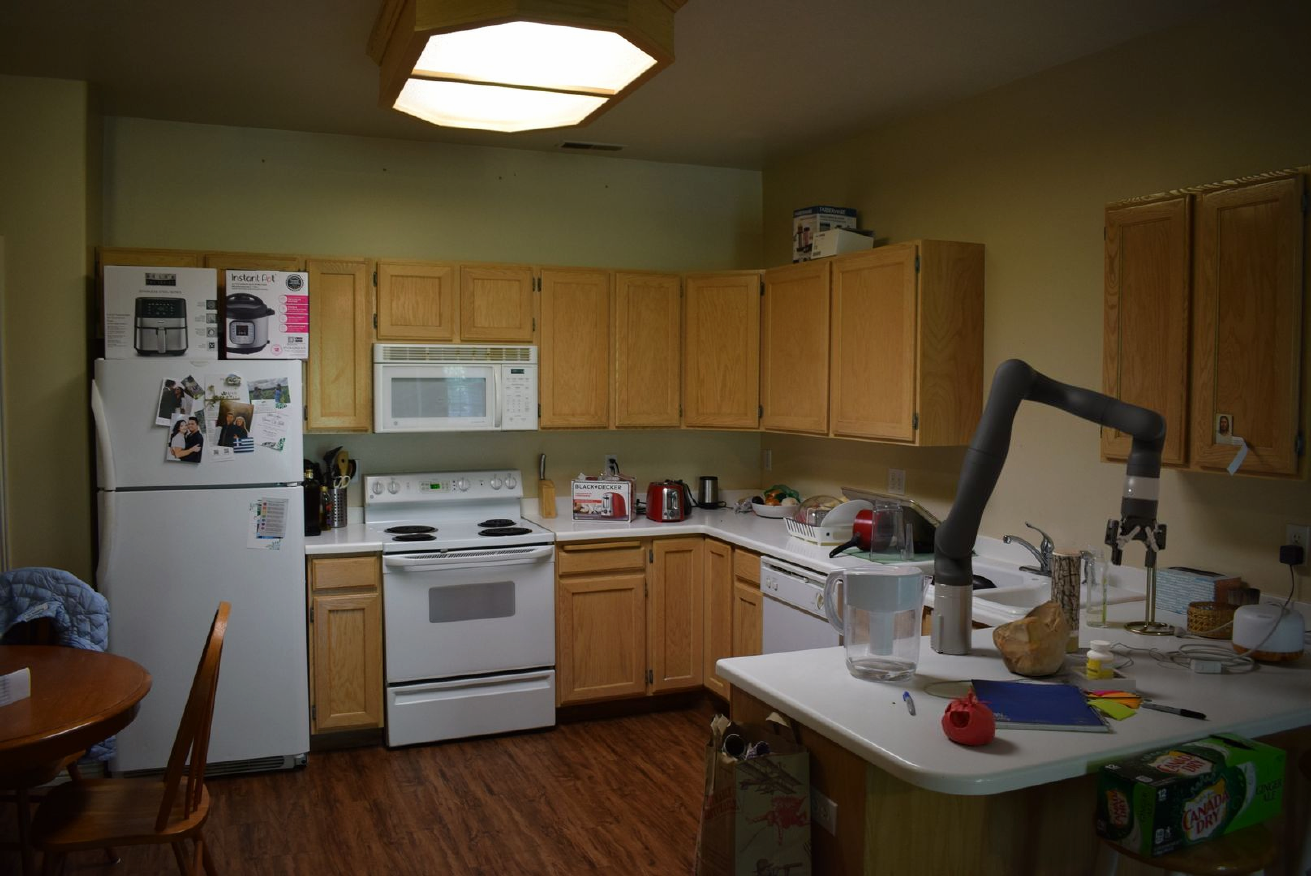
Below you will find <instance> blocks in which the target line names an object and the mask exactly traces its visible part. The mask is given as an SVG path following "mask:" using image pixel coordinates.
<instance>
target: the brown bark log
mask: <svg viewBox="0 0 1311 876" xmlns="http://www.w3.org/2000/svg"><path fill="white" fill-rule="evenodd" d="M1081 576H1082V553H1081V551H1076V550H1067V549H1066V550H1065V549H1055V550H1052V553H1051V581H1050V582H1051V585H1050V586H1051V588H1050V591H1051V592H1050V600H1052V601H1053V602H1055V603H1059V604H1060V605H1061V606H1062V609H1063V612H1064V615H1065V618H1066V621H1067V623H1068V626H1069V629H1070V641H1069V643H1068V644H1067V645H1066V654H1067V653H1068V654H1069V653H1076V652H1078V650H1079V644H1080V642H1079V641H1080V620H1081V617H1080V614H1081V613H1080V611H1081V580H1082V579H1081V578H1082V577H1081Z"/></svg>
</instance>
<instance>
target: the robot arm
mask: <svg viewBox="0 0 1311 876" xmlns="http://www.w3.org/2000/svg"><path fill="white" fill-rule="evenodd" d="M1022 400H1024V401H1029V402H1033V403H1038V404H1039V403H1040V404H1044V405H1047V406H1050V407H1054V408H1056V409H1059V410H1062V411H1064V412H1067V413H1068V414H1071V415H1074V416H1075V417H1078V418H1081V419H1083V420H1086V421H1089V422H1091V423H1094V424H1096V425H1100V426H1103V427H1105V428H1111V429H1114V430H1117V431H1119V432H1121V433H1124V434H1126V435H1128V436H1131V437H1132V440H1131V441H1132V442H1131V450H1130V452H1129V454H1128V457H1127V460H1126V461H1127V462H1126V472H1125V478H1124V482H1123V486H1122V494H1121V495H1122V496H1121V504H1120V515H1121V518H1120V520H1118V519H1113V518H1109V519H1108V520H1107V525H1106V530H1105V536H1104V542H1103V543H1104V544H1105V545H1107V546H1109V547H1111V557H1110V561H1111V564H1112V565H1113V566H1117V567H1121V565H1122V559H1123V551H1124V550H1123V547H1125V546H1126V544H1128V543H1130V541H1141V543H1142V544H1144V546H1145V548H1146V550H1145V558H1144V567H1146V568H1148V569H1153V568H1154V567H1155V565H1156V559H1157V553H1158V552H1159V551H1161V550H1162V551H1165V550H1166V547H1167V546H1166V545H1167V527H1168V525H1167V524H1166V523H1165V524H1164V523H1159V522H1156V523H1155V520H1156V519H1157V516H1158V509H1159V508H1158V507H1159V498H1160V489H1161V488H1160V486H1161V485H1160V481H1161V480H1160V476H1161V470H1162V469H1161V468H1162V456H1163V455H1162V454H1163V451H1164V446H1165V441H1166V436H1167V420H1166V419H1165V417H1164V416H1163V415H1162V414H1161V413H1159V412H1157V411H1155V410H1152V409H1149V408H1145V407H1142V406H1139V405H1135V404H1131V403H1128V402H1124V401H1123V400H1121V399H1119V398H1116V397H1113V396H1110V395H1108V394H1104V393H1102V392H1099V391H1095V390H1092V389H1088V388H1085V387H1082V386H1077V385H1072V384H1067V383H1065V382H1062V381H1059V380H1056V379H1054V378H1051V377H1049V376H1048V375H1045V374H1043V373H1041V372H1040V371H1038V370H1036V369H1035V368H1033V367H1032V366H1031V365H1030V364H1028V362H1025V361H1024V360H1022V359H1019V358H1009V359H1007V360H1004V361H1003V362H1002V363H1001V364H1000V365H998V367H997V368H996V370H995V372H994V375H993V378H992V382H991V386H990V390H989V393H988V398H987V403H986V405H985V408H984V411H983V413H982V415H981V418H980V420H979V422H978V425H977V427H976V429H975V431H974V434H973V437H972V440H971V441H970V444H969V447H968V449H967V452H966V455H965V457H964V459H963V462H962V467H961V470H960V473H959V474H960V475H959V479H958V485H957V491H956V495H955V498H954V501H953V504H952V507H951V508H950V511H949V514H948V516H947V517H946V519H944V520H942V521H941V522H940V523H939V524H938V525H937V526H936V529H935V530H934V531H935V533H934V542H933V543H934V546H933V547H934V550H933V551H934V552H933V554H934V555H933V561H934V562H933V564H934V565H933V567H934V570H933V571H934V594H933V595H934V596H933V597H934V598H933V599H934V600H933V601H934V602H933V609H932V610H931V611H930V612H931V613H930V645H931V646H932V647H933V648H932V649H933V650H934V651H935V650H937V651H938V652H943V653H942V654H946V655H947V654H948V655H967V654H970V653H972V646H973V644H972V642H973V641H972V638H973V637H972V635H973V633H972V632H973V630H972V629H973V596H974V595H973V594H974V590H973V589H974V588H973V587H974V571H973V549H974V547H975V545H976V541H977V537H978V533H979V529H980V525H981V521H982V517H983V515H984V512H985V509H986V507H987V504H988V502H989V500H990V498H991V496H992V494H993V492H994V490H995V488H996V485H997V483H998V480H999V478H1000V476H1001V473H1002V470H1003V469H1004V466H1005V463H1006V460H1007V458H1008V455H1009V451H1010V446H1011V439H1012V433H1013V432H1012V431H1013V424H1014V421H1015V417H1016V415H1017V412H1018V409H1019V408H1020V405H1021V403H1022ZM1119 530H1120V531H1119ZM1153 532H1154V534H1153ZM937 651H936V652H937ZM938 652H937V653H938Z"/></svg>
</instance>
